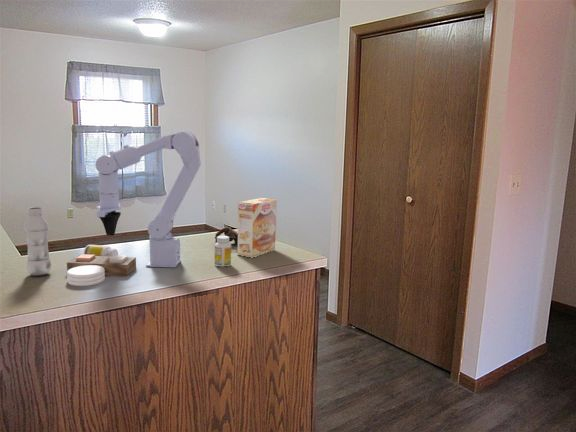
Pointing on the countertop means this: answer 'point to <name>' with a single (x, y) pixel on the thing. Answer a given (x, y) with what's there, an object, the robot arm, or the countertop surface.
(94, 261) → the switch box
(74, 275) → the coaster
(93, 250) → the supplement bottle
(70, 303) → the countertop surface
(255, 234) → the coffeecake box
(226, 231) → the dark brown tangled clump
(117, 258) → the key offwhite
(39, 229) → the plastic bottle
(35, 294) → the countertop surface
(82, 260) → the key terracotta
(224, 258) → the supplement bottle
